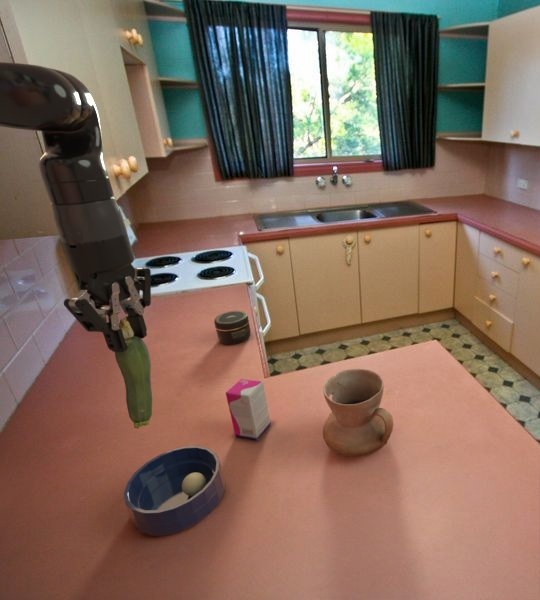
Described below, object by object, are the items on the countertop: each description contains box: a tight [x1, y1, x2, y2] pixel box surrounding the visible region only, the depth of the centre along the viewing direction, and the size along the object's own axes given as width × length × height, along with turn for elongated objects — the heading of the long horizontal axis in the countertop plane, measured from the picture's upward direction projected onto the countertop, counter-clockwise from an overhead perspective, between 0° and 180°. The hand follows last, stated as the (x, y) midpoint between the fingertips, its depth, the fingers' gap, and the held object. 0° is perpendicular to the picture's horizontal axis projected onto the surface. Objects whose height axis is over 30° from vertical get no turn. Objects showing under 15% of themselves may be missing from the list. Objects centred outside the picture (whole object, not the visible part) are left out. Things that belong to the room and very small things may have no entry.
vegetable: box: [114, 317, 153, 429], centre depth 67 cm, size 4×4×20 cm
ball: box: [182, 472, 206, 496], centre depth 78 cm, size 4×4×4 cm
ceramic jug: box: [322, 368, 394, 458], centre depth 88 cm, size 18×14×14 cm
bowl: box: [123, 445, 226, 536], centre depth 77 cm, size 15×15×6 cm
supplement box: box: [225, 378, 272, 441], centre depth 93 cm, size 6×6×12 cm
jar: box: [213, 310, 251, 346], centre depth 133 cm, size 10×10×8 cm
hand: (129, 343), depth 65 cm, fingers closed on vegetable, 3 cm apart
